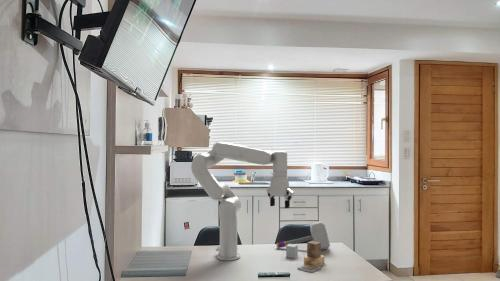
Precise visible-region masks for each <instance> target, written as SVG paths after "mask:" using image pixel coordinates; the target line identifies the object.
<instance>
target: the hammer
mask: <svg viewBox="0 0 500 281" xmlns="http://www.w3.org/2000/svg"><path fill="white" fill-rule="evenodd" d="M309 227H310V229H309V230H310V234H311V235H307V236H304V237H300V238H295V239H291V240H287V241H285V240H284V241H281V242H279V243H278V242H277V243H275V244H276V248H277V249H281V248H286V246H287V245H288V244H296V245H297V244H298V243H303V242H309V241H316V242H321V251H322V250H326V249H329V248H330V247H331V244H330V243H331V242H330V239H329V236H328V232H327V229H326V225H325V224H324V222H323V221H321V220H318V221H314V222H311V223H310V225H309Z"/></svg>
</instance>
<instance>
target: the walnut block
mask: <svg viewBox="0 0 500 281" xmlns="http://www.w3.org/2000/svg"><path fill="white" fill-rule="evenodd" d="M306 242H307V243H306V247H307V248H306V256H308V257H312V258H318V257H320V256H321V255H322V250H321V242H316V241H313V240H309V241H306Z"/></svg>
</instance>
